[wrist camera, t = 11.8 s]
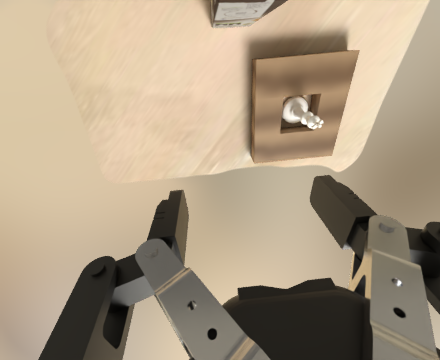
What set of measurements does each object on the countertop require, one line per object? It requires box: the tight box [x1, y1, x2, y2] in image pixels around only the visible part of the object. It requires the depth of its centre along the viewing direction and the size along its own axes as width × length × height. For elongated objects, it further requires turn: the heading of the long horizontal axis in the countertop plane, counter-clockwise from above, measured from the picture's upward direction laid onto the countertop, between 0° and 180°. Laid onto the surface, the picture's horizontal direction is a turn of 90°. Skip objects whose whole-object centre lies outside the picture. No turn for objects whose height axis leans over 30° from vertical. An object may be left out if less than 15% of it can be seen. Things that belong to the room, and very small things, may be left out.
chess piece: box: [282, 96, 324, 130], centre depth 33 cm, size 5×5×10 cm
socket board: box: [251, 50, 359, 163], centre depth 36 cm, size 18×16×3 cm
